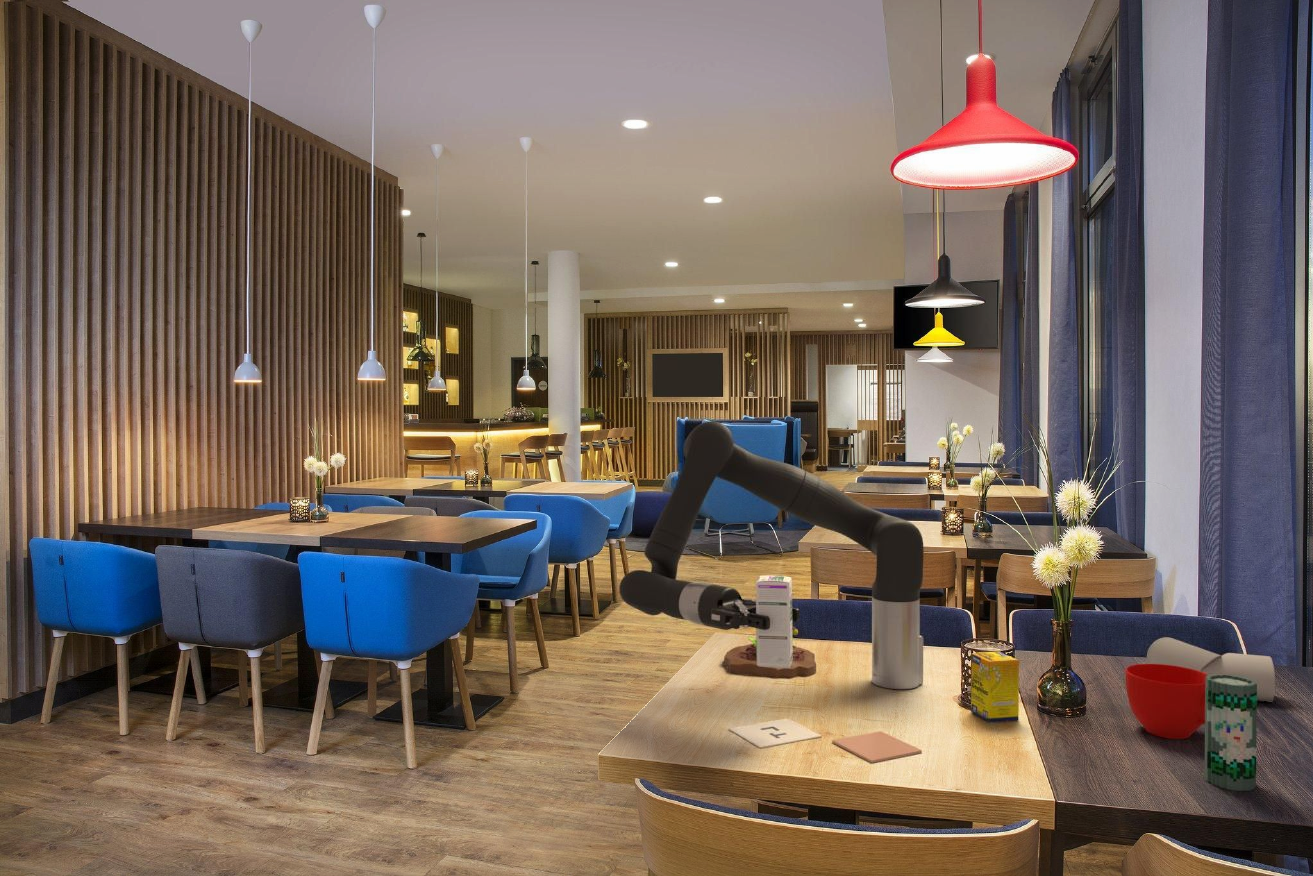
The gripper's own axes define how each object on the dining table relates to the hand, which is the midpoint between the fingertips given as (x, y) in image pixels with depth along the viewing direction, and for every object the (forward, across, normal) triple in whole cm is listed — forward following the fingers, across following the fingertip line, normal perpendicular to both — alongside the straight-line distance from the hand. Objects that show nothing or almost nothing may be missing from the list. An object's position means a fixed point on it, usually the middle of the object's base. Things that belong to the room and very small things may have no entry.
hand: (783, 619), depth 153 cm
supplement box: (+21, +34, +20) cm, 45 cm away
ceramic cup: (+48, +46, +20) cm, 69 cm away
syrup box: (-2, 0, +8) cm, 8 cm away
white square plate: (-2, 0, +20) cm, 20 cm away
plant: (-29, +34, +20) cm, 49 cm away
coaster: (+14, +6, +20) cm, 25 cm away
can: (+59, +29, +19) cm, 68 cm away
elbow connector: (+44, +79, +20) cm, 93 cm away
